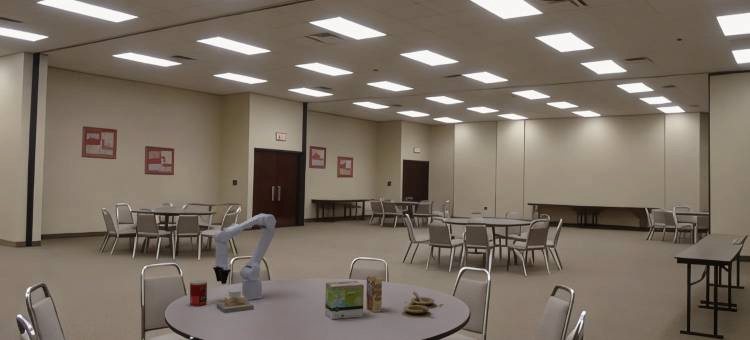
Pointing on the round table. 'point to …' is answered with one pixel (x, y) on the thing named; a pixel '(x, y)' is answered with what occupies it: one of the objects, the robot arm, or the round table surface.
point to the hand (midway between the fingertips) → (221, 282)
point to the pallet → (234, 301)
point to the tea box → (344, 299)
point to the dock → (235, 307)
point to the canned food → (198, 293)
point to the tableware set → (419, 307)
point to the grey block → (234, 293)
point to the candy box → (374, 294)
